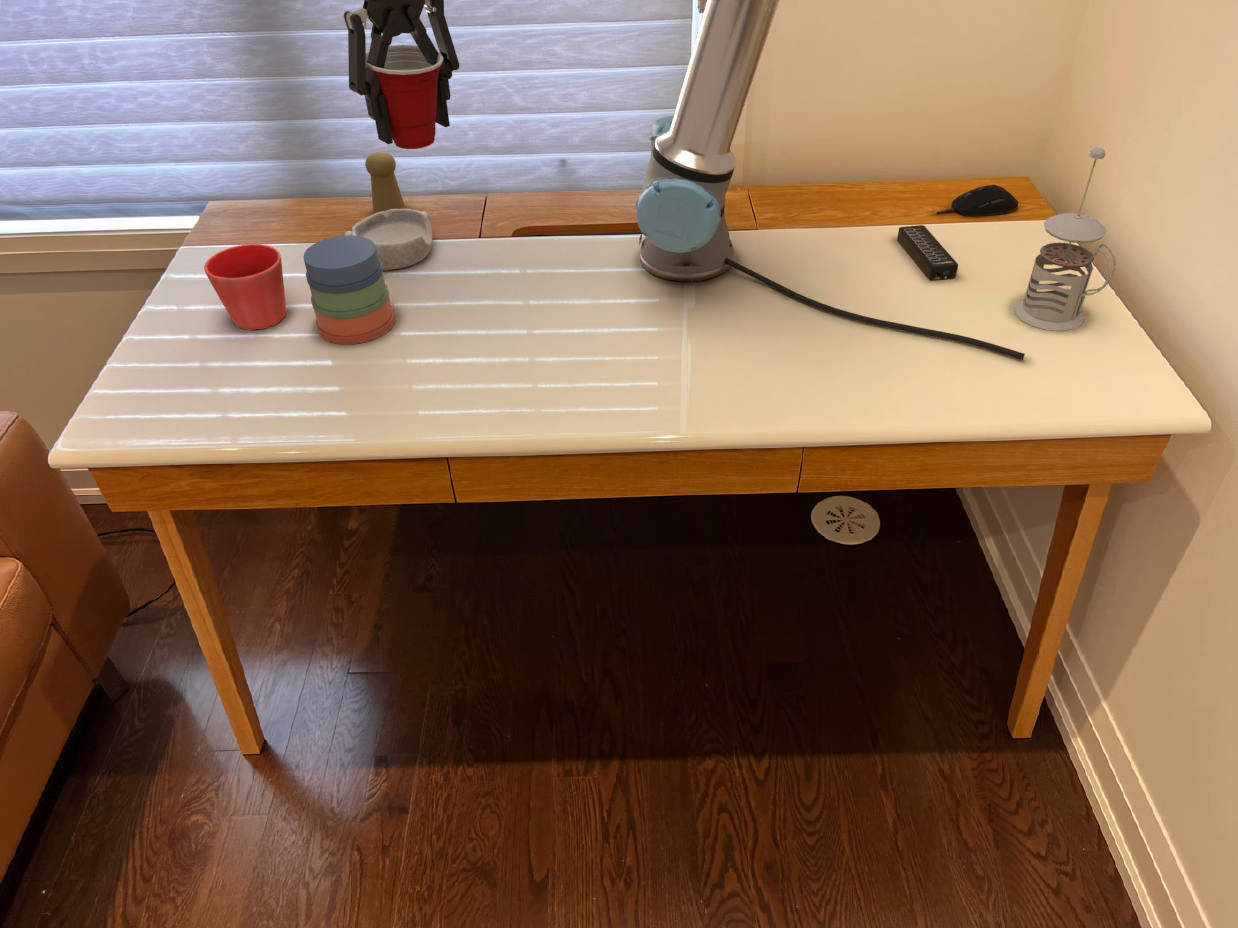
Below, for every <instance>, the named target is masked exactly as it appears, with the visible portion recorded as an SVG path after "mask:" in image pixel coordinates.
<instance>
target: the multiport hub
mask: <svg viewBox="0 0 1238 928" xmlns="http://www.w3.org/2000/svg"><path fill="white" fill-rule="evenodd" d="M896 241H897V243H898V244H899V245H900V246H901V247H902V249H903V250H904V251H905V253H906V254H907V255H908V256H909V257H910V259H911V260H912V261H913V262H914V264H915V265H916V266H917V268H918V269H919V270H920V271H921V272H922V273H923V275H924V276H925V277H926V278H927V280H929V281H930V282H931V281H933V282H934V281H943V280H951V279H952V280H953V279H956V277H957V273H958V269H959V264H958V262H957V261H956V260H955V259H954V258H953V257H952V255H951V254H950V253H949V252H948V251H947V249H946V248H945V247H944V246H943V245H942V244H941V242H939V241H938V239H937V238H936V237H935V236H934V235H933V234H932V233H931V231H930V230H929V229H928V228H927V227H926V226H925V225H923V224H920V225H910V226H909V225H907V226H900V227H898V232H897V237H896Z"/></svg>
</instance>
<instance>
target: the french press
mask: <svg viewBox="0 0 1238 928" xmlns="http://www.w3.org/2000/svg"><path fill="white" fill-rule="evenodd" d="M1105 156H1106V151H1105V149H1104V148H1103V147H1097V146H1096V147H1093V148H1092V149H1090V152H1089V158H1091V159H1094V161H1093V164H1092V168H1091V170H1090V174H1089V178H1088V180H1087V184H1086V187H1085V190H1084V193H1083V197H1082V200H1081V203H1080V207H1079V210H1078V212H1062V213H1059V214H1055V215H1053V216H1050V217H1048V218H1046V219H1045V221H1044V222H1043V226H1044V230H1045V232H1046V233H1047V234H1049V235H1050V237H1053V238H1055V239H1057V240H1060V241H1063V242H1060V241H1059V242H1050V243H1047V244H1045V245H1043V246H1041V247H1040V249H1039V254H1037V256H1036V257H1035V259H1034V263H1033V266H1032V270H1031V273H1030V276H1029V281H1028V283H1027V287H1026V291H1025V295H1024V297H1023V298H1022V299H1020V300H1019V301H1016V304H1015V305H1014V306H1013V310H1014V314H1015V316H1016V317H1018V319H1020V320H1021V321H1022V322H1024V323H1026V324H1028V325H1030V326H1032V327H1034V328H1037V329H1042V330H1046V331H1057V332H1064V331H1072V330H1074V329H1077V328H1078V327H1080V326H1082V325H1083V323H1084V321H1085V317H1084V314H1083V312H1082V311H1081V310H1082V307H1083V305H1084V301H1085V299H1086V297H1087V296H1093V295H1095V294H1098V293H1100V292H1101V291H1102V290H1103V289H1105V288H1106V287H1107V286H1108V285H1109V284H1110V282H1111V281H1112V279H1113V277H1114V274H1115V272H1116V270H1117V261H1116V255H1115V254H1114V252H1113V250H1112V249H1111V248H1110V247H1109V246H1108V245H1107V244H1106V243H1101V244H1100V245H1099V247H1096V248H1094V250H1093V253H1092V251H1090V250H1089V249H1087V248H1085V247H1083V246H1081V245H1078V244H1091V243H1095V242H1098V241H1101V240H1102V239H1103V238H1104V237H1105V235H1106V234H1107V230H1106V227H1105V226H1104V225H1103V224H1102V223H1101V222H1100V221H1099V220H1098V219H1096V218H1094V217H1090V216H1088V215H1086V214H1082V213H1081V212H1082V209H1083V205H1084V202H1085V198H1086V196H1087V192H1088V189H1089V186H1090V182H1091V180H1092V176H1093V173H1094V169H1095V166H1096V163H1097V160H1102V159H1105ZM1103 247H1105V248H1106V249H1107V250H1108V251H1109V253H1110V255H1111V257H1112V261H1113V269H1111V268H1112V267H1111V262H1110V259H1109V257H1108V255H1107V253H1106V252H1105V251H1104V250H1103V249H1102V248H1103ZM1099 253H1102V254H1103V256H1104V258H1105V259H1106V261H1107V265H1108V273H1107V276H1106V278H1105V282H1104V283H1103V285H1102V286H1100V287H1097V288H1091V289H1087V288H1088V285H1089V283H1090V279H1091V276H1092V273H1093V270H1094V267H1093V261H1094V260H1095V257H1096V256H1098V254H1099ZM1054 265H1055V266H1058V267H1056V268H1044V267H1045V266H1054ZM1082 268H1085V270H1086V272H1087V273H1086V272H1085V271H1084V270H1083V269H1082ZM1066 271H1073V272H1078V273H1079V274H1080V275H1078V274H1075V273H1062V274H1055V273H1061V272H1066ZM1111 271H1112V272H1111ZM1040 282H1051V283H1040ZM1052 282H1053V283H1052ZM1064 286H1068V287H1070V289H1067V288H1064ZM1039 290H1046V291H1039Z"/></svg>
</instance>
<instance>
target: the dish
mask: <svg viewBox="0 0 1238 928" xmlns="http://www.w3.org/2000/svg"><path fill="white" fill-rule="evenodd" d="M344 236H361V237H365V238H368V239H370V240H371V241H373V242H374V244H375V245H376V249H377V254H378V258H379V260H380V261H381V263H382V268H383V271H387V270H388V271H389V270H397V269H402V268H406V267H410V266H413V265H415V264H418V263H420V262H421V261H422V260H424V259H425V258H427V256H428V255H429V254H430V252H431V250H432V248H433V230H432V225H431V219H430V215H429V213H428V212H426V211H425V210H422V211H420V210H417V209H414V208H413V209H412V208H406V209H390V210H387V211H384V212H383V211H382V212H378V213H375V214H373V213H372V214H371V215H369V216H367V217H365V218H362V220H359V221H357V222H356V223H355V224H354V225H353V226H352V228H351V230H347V231H345V233H344Z"/></svg>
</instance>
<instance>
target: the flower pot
mask: <svg viewBox="0 0 1238 928" xmlns="http://www.w3.org/2000/svg"><path fill="white" fill-rule="evenodd" d="M282 263H283V262H282V255H281V253H280V252H279V251H278V249H276V248H275V247H273V246H270V245H268V244H262V243H247V244H239V245H236V246H231V247H228V248H225V249H223V250H220V251H218V252H216V253H215V254H213V255H212V256H211V257H209V258H208V259H207V260H206V261H205V264H204V266H203V271H204V273H205V275H206V277H207V279H208V281H209V283H211V286H212V287H213V289H214V291H215V293H216V295H217V296H218V299H219V300H220V302H221V303H222V305H223V307H224V308H225V311H226V312H227V313H228V315H229V316H230V318H231V321H232V322H233V323H234V325H235V326H236V327H238V328H240V329H241V330H247V331H255V330H264V329H267V328H270V327H273V326H275V325H276V324H279V323H280V322H281V321H282V320H283V319H284V318H285V317H286V314H287V309H286V307H287V306H286V293H285V283H284V272H283V264H282Z"/></svg>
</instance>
